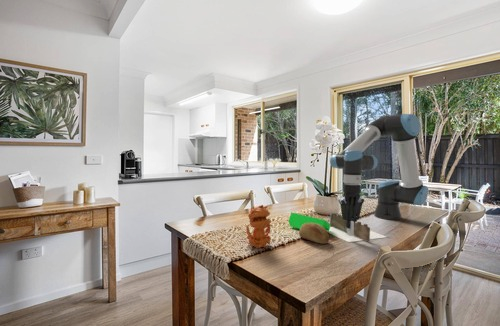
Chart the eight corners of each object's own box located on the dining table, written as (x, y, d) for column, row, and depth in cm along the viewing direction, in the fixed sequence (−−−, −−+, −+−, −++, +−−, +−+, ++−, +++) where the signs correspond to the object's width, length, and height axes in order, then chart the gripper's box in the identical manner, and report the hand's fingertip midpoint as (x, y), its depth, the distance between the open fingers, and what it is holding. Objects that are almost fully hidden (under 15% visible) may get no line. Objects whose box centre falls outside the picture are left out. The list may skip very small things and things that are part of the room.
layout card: (352, 224, 144) (352, 223, 144) (387, 237, 123) (387, 236, 122) (317, 227, 136) (317, 227, 136) (348, 242, 115) (348, 241, 115)
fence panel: (348, 232, 126) (349, 218, 126) (350, 232, 127) (351, 218, 126) (367, 241, 115) (368, 225, 115) (369, 240, 116) (370, 225, 115)
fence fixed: (332, 225, 141) (332, 211, 140) (346, 232, 130) (347, 217, 129) (329, 225, 140) (329, 212, 140) (343, 232, 129) (344, 217, 129)
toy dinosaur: (253, 252, 101) (254, 207, 100) (241, 243, 111) (242, 202, 110) (277, 248, 106) (278, 205, 105) (263, 240, 116) (264, 200, 115)
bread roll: (320, 248, 108) (321, 229, 107) (293, 238, 119) (293, 221, 119) (333, 243, 114) (334, 225, 113) (306, 234, 125) (306, 218, 125)
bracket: (329, 240, 128) (333, 226, 130) (320, 234, 122) (324, 219, 124) (296, 230, 142) (300, 218, 144) (286, 224, 136) (291, 212, 138)
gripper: (346, 185, 110) (344, 239, 111) (369, 184, 115) (367, 236, 116) (334, 183, 118) (333, 233, 118) (357, 182, 122) (355, 231, 123)
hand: (350, 235), depth 117 cm, fingers closed
